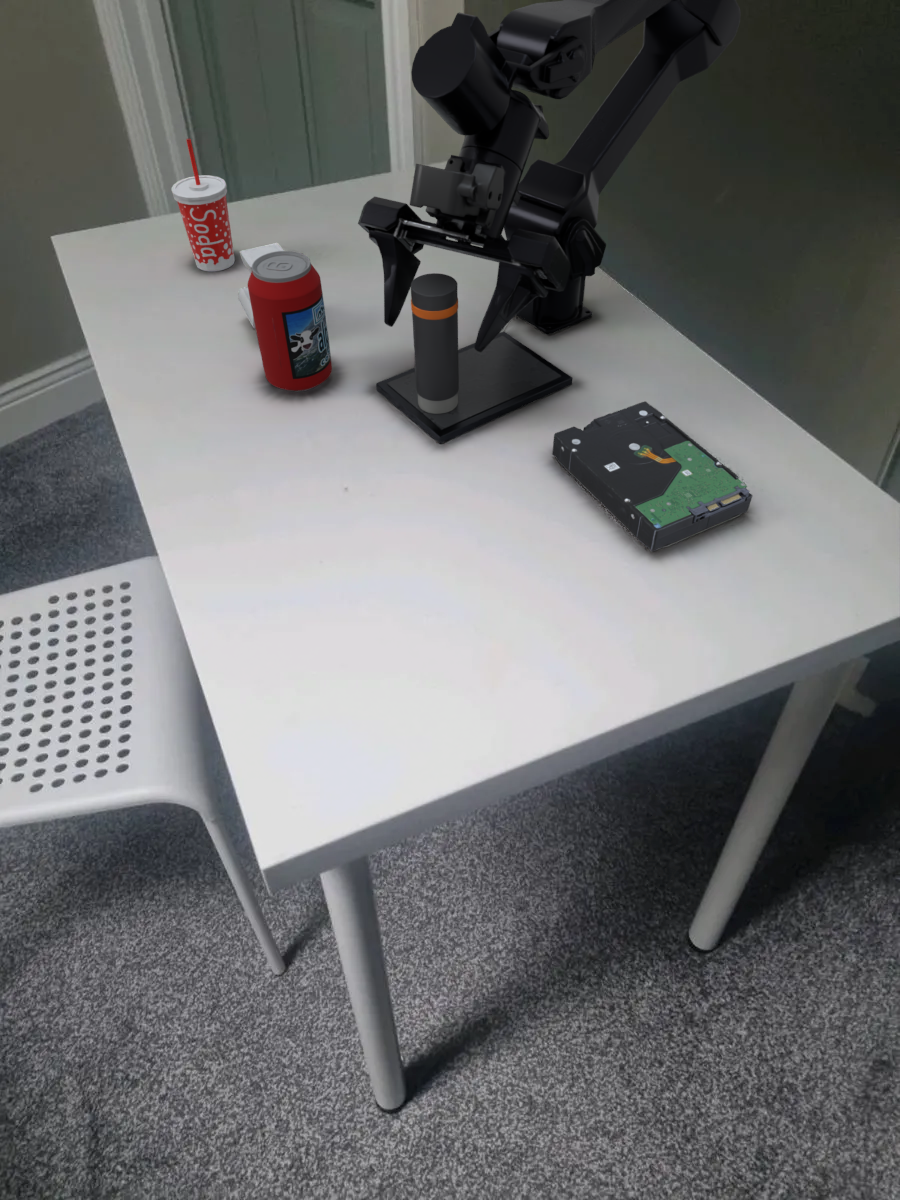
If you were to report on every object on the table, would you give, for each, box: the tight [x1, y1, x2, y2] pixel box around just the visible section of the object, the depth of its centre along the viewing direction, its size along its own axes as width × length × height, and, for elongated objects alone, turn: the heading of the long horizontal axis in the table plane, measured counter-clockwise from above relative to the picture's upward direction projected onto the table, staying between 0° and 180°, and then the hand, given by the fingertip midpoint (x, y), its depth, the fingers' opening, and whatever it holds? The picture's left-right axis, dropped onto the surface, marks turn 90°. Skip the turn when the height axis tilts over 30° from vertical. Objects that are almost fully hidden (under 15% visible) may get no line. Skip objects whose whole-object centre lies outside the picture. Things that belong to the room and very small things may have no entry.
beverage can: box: [247, 250, 333, 392], centre depth 86 cm, size 7×7×12 cm
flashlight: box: [410, 272, 459, 414], centre depth 81 cm, size 4×4×12 cm
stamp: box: [237, 242, 285, 331], centre depth 94 cm, size 9×7×8 cm
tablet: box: [375, 330, 573, 445], centre depth 88 cm, size 16×11×1 cm
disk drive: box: [551, 401, 753, 552], centre depth 77 cm, size 10×3×15 cm
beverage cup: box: [170, 137, 236, 272], centre depth 102 cm, size 6×6×14 cm
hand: (432, 337), depth 79 cm, fingers open, 9 cm apart
